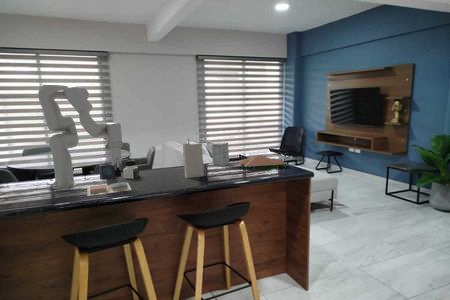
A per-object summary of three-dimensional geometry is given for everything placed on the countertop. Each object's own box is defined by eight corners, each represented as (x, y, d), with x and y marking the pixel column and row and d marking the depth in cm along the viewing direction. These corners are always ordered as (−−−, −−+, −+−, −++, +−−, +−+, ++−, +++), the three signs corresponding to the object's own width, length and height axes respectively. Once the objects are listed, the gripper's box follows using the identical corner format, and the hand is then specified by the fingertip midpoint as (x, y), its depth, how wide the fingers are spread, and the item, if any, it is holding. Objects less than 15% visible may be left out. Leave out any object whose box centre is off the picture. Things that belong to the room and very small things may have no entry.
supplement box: (229, 164, 230) (228, 142, 228) (223, 166, 223) (222, 144, 220) (219, 163, 235) (218, 142, 233) (212, 165, 228) (211, 143, 225)
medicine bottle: (134, 180, 190) (132, 161, 188) (123, 179, 191) (122, 161, 189) (139, 177, 197) (138, 159, 195) (129, 177, 198) (127, 159, 196)
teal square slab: (90, 190, 166) (90, 193, 159) (89, 186, 165) (90, 190, 158) (105, 187, 169) (106, 191, 162) (105, 184, 169) (106, 187, 161)
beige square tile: (111, 187, 170) (112, 190, 163) (111, 183, 170) (112, 187, 163) (126, 185, 173) (127, 188, 166) (125, 181, 173) (127, 185, 166)
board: (87, 197, 155) (87, 196, 154) (87, 189, 171) (87, 187, 171) (131, 191, 163) (131, 189, 163) (127, 184, 180) (127, 182, 180)
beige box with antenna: (204, 176, 195) (202, 137, 191) (186, 178, 190) (184, 138, 187) (200, 174, 202) (198, 136, 198) (183, 176, 198) (181, 137, 194)
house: (235, 165, 228) (235, 154, 227) (277, 162, 233) (277, 152, 231) (241, 171, 205) (241, 159, 204) (287, 168, 210) (287, 157, 209)
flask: (99, 179, 194) (98, 163, 193) (100, 178, 197) (98, 162, 196) (115, 177, 197) (113, 161, 196) (115, 177, 200) (113, 161, 199)
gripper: (107, 143, 173) (110, 174, 176) (109, 146, 160) (112, 180, 163) (121, 142, 176) (123, 173, 179) (123, 145, 163) (126, 178, 166)
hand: (118, 176), depth 171 cm, fingers closed
